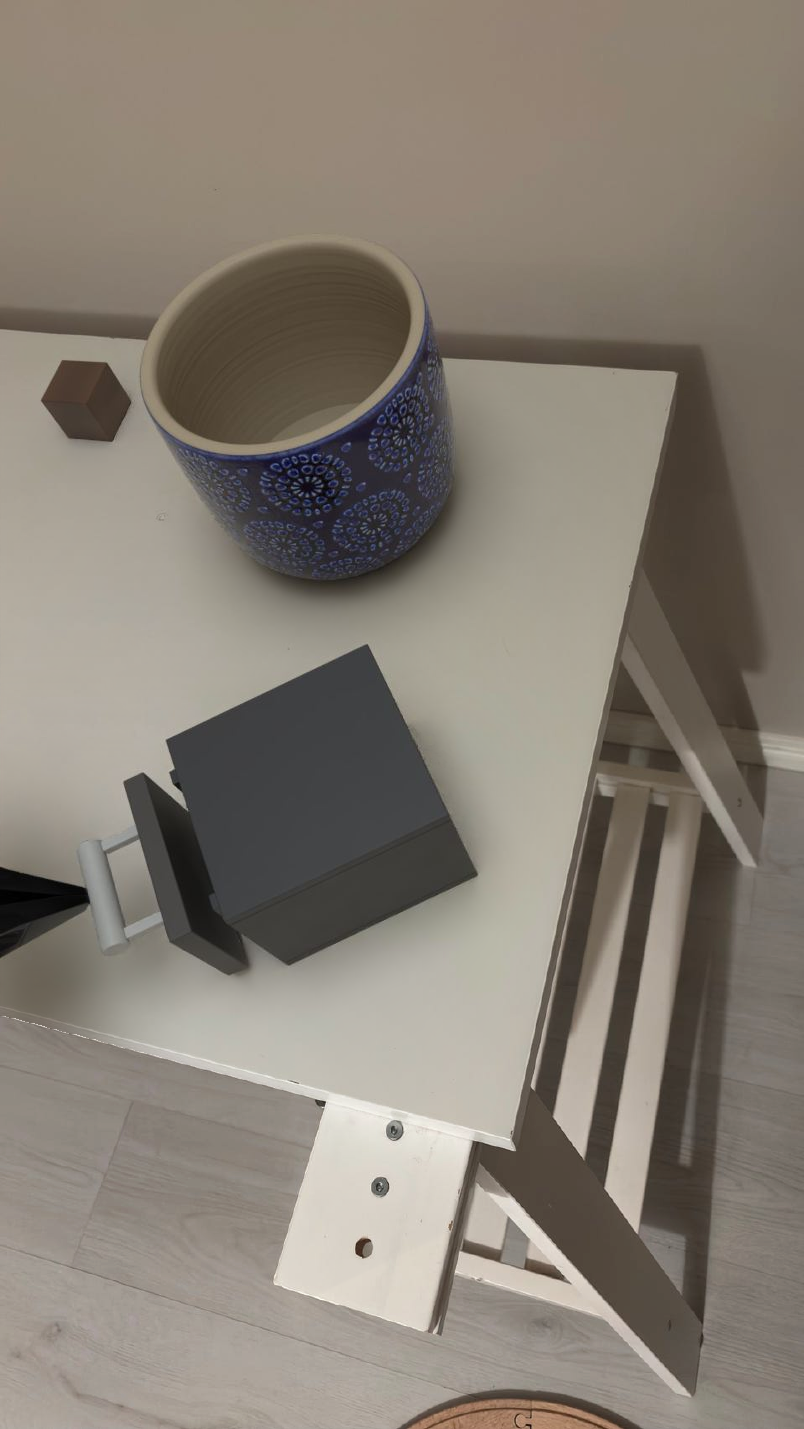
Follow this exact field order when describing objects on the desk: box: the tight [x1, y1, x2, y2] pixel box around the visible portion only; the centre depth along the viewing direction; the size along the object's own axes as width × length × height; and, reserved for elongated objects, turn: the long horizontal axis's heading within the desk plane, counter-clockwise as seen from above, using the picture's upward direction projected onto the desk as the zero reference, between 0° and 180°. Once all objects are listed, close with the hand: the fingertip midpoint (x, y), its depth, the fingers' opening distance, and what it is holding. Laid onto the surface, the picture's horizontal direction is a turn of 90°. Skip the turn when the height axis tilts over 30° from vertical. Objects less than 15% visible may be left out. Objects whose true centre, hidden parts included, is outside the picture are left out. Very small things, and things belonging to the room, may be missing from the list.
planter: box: [139, 232, 457, 581], centre depth 60 cm, size 17×17×15 cm
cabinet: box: [165, 643, 479, 966], centre depth 52 cm, size 11×10×9 cm
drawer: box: [75, 768, 249, 976], centre depth 52 cm, size 14×9×8 cm, turn 113°
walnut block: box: [40, 359, 132, 442], centre depth 74 cm, size 4×4×4 cm
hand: (86, 899), depth 50 cm, fingers closed, pressing on drawer
